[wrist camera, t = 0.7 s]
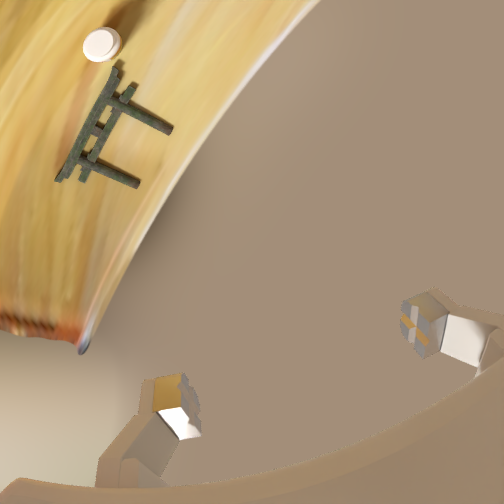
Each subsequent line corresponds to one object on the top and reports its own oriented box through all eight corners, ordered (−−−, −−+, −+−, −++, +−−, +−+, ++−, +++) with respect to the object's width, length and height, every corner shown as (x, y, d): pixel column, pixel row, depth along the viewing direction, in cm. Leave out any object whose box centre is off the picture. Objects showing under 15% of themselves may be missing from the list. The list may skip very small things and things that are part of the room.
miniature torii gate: (125, 210, 52) (54, 181, 42) (125, 204, 53) (56, 176, 44) (188, 107, 45) (112, 66, 36) (185, 105, 47) (113, 65, 37)
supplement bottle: (119, 26, 33) (114, 18, 26) (126, 55, 36) (122, 53, 29) (87, 38, 32) (75, 34, 25) (94, 66, 36) (84, 68, 28)
